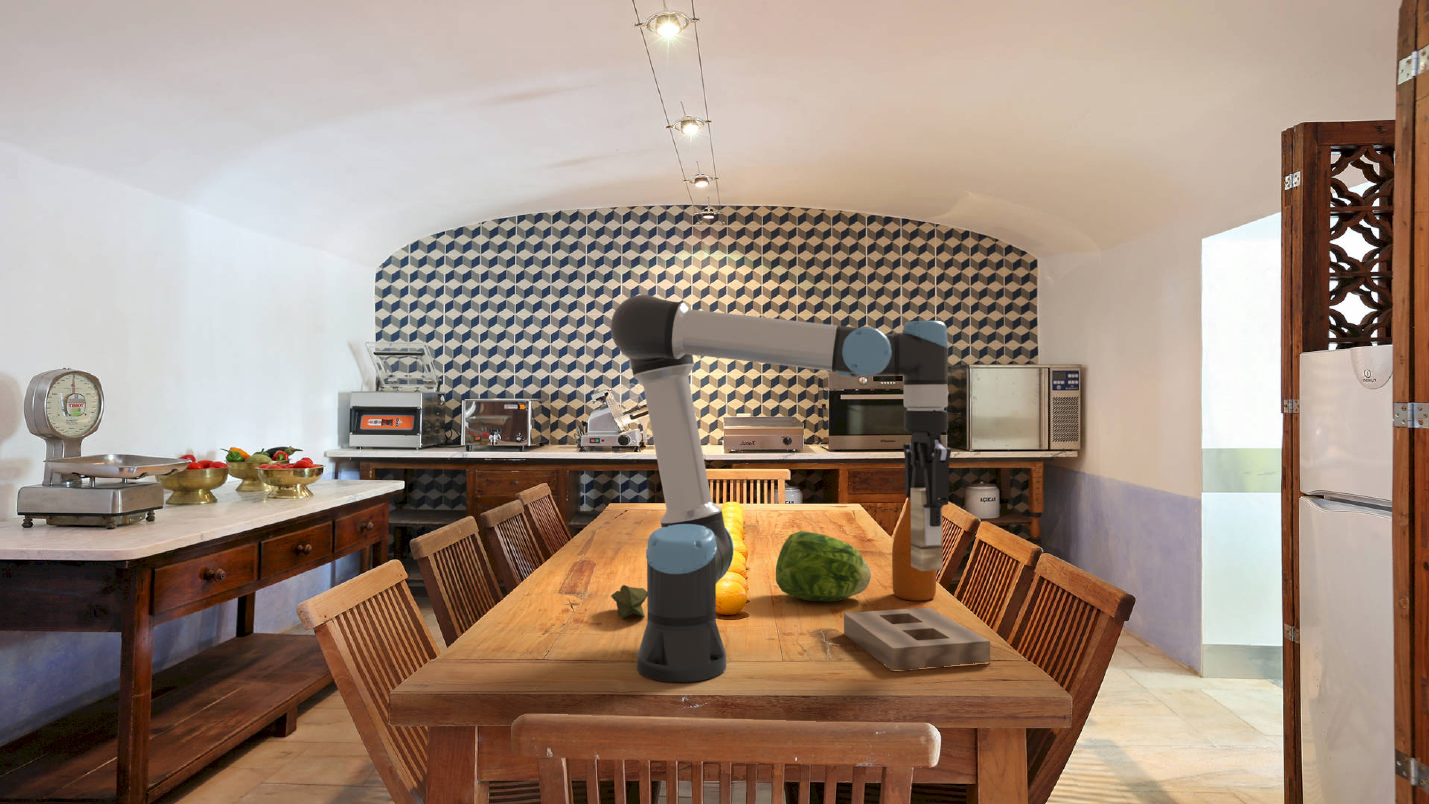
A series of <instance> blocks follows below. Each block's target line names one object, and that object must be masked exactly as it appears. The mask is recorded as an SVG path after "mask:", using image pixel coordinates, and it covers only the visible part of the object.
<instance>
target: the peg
mask: <svg viewBox="0 0 1429 804" xmlns="http://www.w3.org/2000/svg"><path fill="white" fill-rule="evenodd" d="M925 504H927V498H926V488H925V487H919V488H911V543H910V545H911V567H914V568H916V569H918V570H920V571H932V570H937V571H943V548H944V546H943V507H941V545H925V526H924V506H923V505H925Z"/></svg>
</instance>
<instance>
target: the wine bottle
mask: <svg viewBox="0 0 1429 804" xmlns="http://www.w3.org/2000/svg"><path fill="white" fill-rule="evenodd" d="M910 543H911V501H910V498H907V500H906V504H905V509H904V512H903V515H902V517H901V519H900V521H899V524H898V526H897V528H896V531H895V534H894V538H893V541H892V549H891V553H892V554H891V568H892V570H891V571H892V592H893V595H894V596H896V597H897V598H899V599H902V600H906V601H913V602H915V601H920V602H922V601H928V600H931V599H933V598H934V597H935V596H936V593H937V592H936V591H937V574H938V573H937V571H938V570H932V571H920V570H918V569H916V568H914V567H911V545H910Z"/></svg>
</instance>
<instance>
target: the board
mask: <svg viewBox="0 0 1429 804" xmlns="http://www.w3.org/2000/svg"><path fill="white" fill-rule="evenodd" d="M843 634H844V635H845V636H846V637H848V638H849V639H850V640H851V641H853V642H854V643H855V645H858V647H860V648H861V649H862V650H864V651H865V650H866V651H865V652H867V653H868V654H869V653H870V654H871V655H870V654H869V655H870V656H872V657H873V658H874V659H875V658H876V659H875V660H877V661H878V662H879V661H881V662H882V663H883V664H885V665H886V666H887V667H889V668H890V669H891V670H893V671H894V670H910V669H919V668H927V667H944V666H951V665H960V664H973V663H974V664H975V663H985V662H990V663H991V641H990V640H989V639H987V638H985V637H984V636H982V635H980V634H979V633H977V632H975V631H973V630H971V629H969V628H967V627H965V626H964V625H963V624H960V623H958V622H956V621H955V620H953V619H951V618H949V617H948V616H946V615H944V614H942V613H940V612H939V611H936V610H935V609H933V608H931V607H916V608H904V609H903V608H900V609H888V610H887V609H886V610H885V609H883V610H871V611H856V612H844V613H843ZM881 662H880V663H881ZM882 663H881V664H882ZM883 664H882V665H883ZM886 666H885V667H886ZM887 667H886V668H887ZM891 670H890V671H891Z"/></svg>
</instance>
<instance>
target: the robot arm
mask: <svg viewBox="0 0 1429 804" xmlns="http://www.w3.org/2000/svg"><path fill="white" fill-rule="evenodd" d="M610 333H611V338H612V340H613V342H614V344H615V346H616V348H617V349H618V350H619V351H620V352H621V353H622V354H623V355H625V356H627V357H628V358H629V360H630V367H631V371H632V376H633V378H634V379H635V380H637V381H638V382H640V383H641V385H642V387H643V392H644V396H645V402H646V406H647V412H648V417H649V423H650V427H651V428H650V429H651V434H652V438H653V443H654V444H653V445H654V451H655V456H656V461H657V466H658V472H659V476H660V483H661V486H662V487H661V488H662V493H663V497H664V503H665V507H666V508H665V509H666V510H665V512H664V515H663V516H662V517H661V519H660V526H661V527H659V528H656V529H655V530H653V531H652V533H651V534H650V535H649V536H648V538H647V547H646V554H645V555H646V556H645V558H646V579H647V581H646V582H647V583H646V585H647V586H646V587H647V588H646V591H647V598H646V600H647V601H646V602H647V603H646V605H647V607H646V608H647V620H646V621H647V624H646V625H645V629H644V633H643V635H642V639H641V643H640V645H639V649H638V652H637V657H636V658H637V659H636V666H637V667H636V669H637V671H638V673H639V672H640V673H639V674H640V675H642V676H643V677H645V678H648V679H651V680H655V681H660V682H668V683H691V682H692V683H693V682H700V681H705V680H709V679H713V678H715V677H717V676H720V675H721V674H723V673H724V672H725V671H726V669H727V652H726V649H725V647H724V643H723V640H722V636H721V634H720V631H719V628H718V624H717V612H716V611H717V609H716V608H717V607H716V606H717V597H716V592H717V591H716V590H717V585H716V584H717V583H718V582H719V581H720V580H721V579H722V578H723V577H724V576H725V575H726V574H727V572H728V571H729V569H730V567H731V565H732V561H733V558H734V543H733V539H732V537H731V534H730V533H729V531H728V529H727V527H726V526H725V525H726V524H725V522H724V521H725V520H724V515H723V511H722V508H721V507H720V506H719V505H717V504H715V503H714V502H713V500H712V496H711V490H710V486H709V484H710V483H709V480H708V474H707V469H706V463H705V457H704V453H703V447H702V442H701V438H700V433H699V427H698V422H697V417H696V416H697V415H696V412H695V407H694V401H693V395H692V389H691V384H690V380H689V375H690V373H691V371H692V370H693V368H694V367H695V363H694V356H701V357H709V358H718V359H726V360H735V361H745V362H751V363H761V364H769V365H778V366H779V365H780V366H786V367H794V368H795V367H797V368H805V369H811V370H812V369H813V370H820V371H821V370H822V371H831V372H836V374H837V375H838V376H840V377H851V378H857V377H885V376H886V377H888V376H890V377H891V376H894V377H897V376H899V377H900V376H901V377H902V376H903V407H904V408H906V410H905V411H904V412H903V430H904V431H905V432H907V433H911V436H910V437H911V438H910V442H909V443H903V445H902V449H903V455H904V480H905V482H904V483H905V484H904V486H905V487H904V489H905V491H904V493H905V497H906V498H907V499H908V498H910V501H911V488H919V487H925V488H926V498H927V504H925V505H923V506H924V526H925V545H941V507H942V508H943V507H944V506H948V505H949V498H950V497H949V493H950V491H949V489H950V485H949V483H950V481H949V479H950V472H949V471H950V459H951V454H952V449H951V447H944V446H943V441H942V440H943V439H942V436H941V435H942V433H945V432H947V431H948V430H949V412H948V411H947V410H945V408H947V407H948V406H949V405H948V404H949V399H948V398H949V397H948V396H949V394H950V392H949V389H948V388H949V387H948V383H949V382H948V381H949V375H948V374H949V344H948V342H949V341H948V328H947V325H946V324H945V323H944V322H942V321H941V320H940V321H939V320H919V321H918V320H915V321H906V322H905V323H904V324H903V330H902V332H898V333H884V332H883V331H881V330H879V329H878V328H875V327H869V326H862V327H853V326H843V325H842V326H841V325H835V324H827V323H826V324H825V323H818V322H809V321H799V320H791V319H790V320H788V319H783V318H782V319H780V318H770V317H762V316H752V315H743V314H735V313H734V314H733V313H727V312H716V311H715V312H714V311H708V310H707V311H706V310H699V309H691V308H690V307H689V306H688V305H687V303H686V302H680V301H673V300H666V299H662V298H658V297H656V296H653V295H649V294H638V295H634V296H631V297H627V299H625V300H623V301H622V302H621V303H620V304H619V305H618V306H617V308H616V309H615V311H614V312H613V315H612V318H611V322H610ZM724 670H725V671H724ZM723 671H724V672H723ZM722 672H723V673H722ZM719 674H720V675H719Z"/></svg>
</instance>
